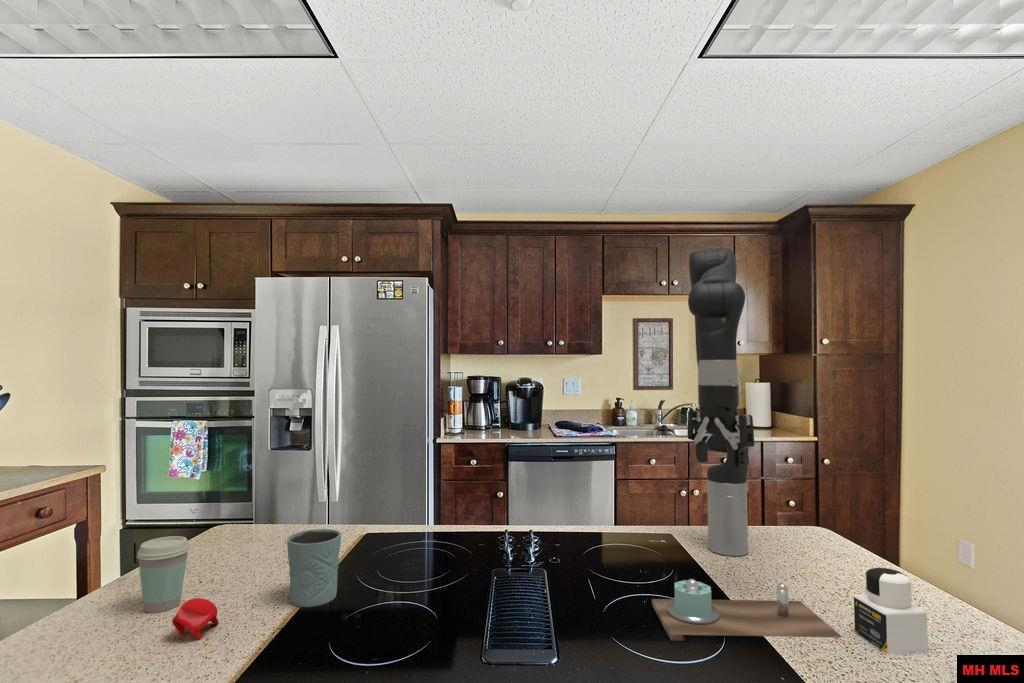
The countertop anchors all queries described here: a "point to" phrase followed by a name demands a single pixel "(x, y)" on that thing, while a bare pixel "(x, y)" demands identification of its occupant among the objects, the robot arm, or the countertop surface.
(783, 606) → the stand rod
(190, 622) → the red toy chair
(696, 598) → the sage ring
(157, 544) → the coffee cup
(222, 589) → the countertop surface
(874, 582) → the medicine bottle
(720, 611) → the walnut board
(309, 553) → the embossed green cup
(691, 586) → the steel hub
